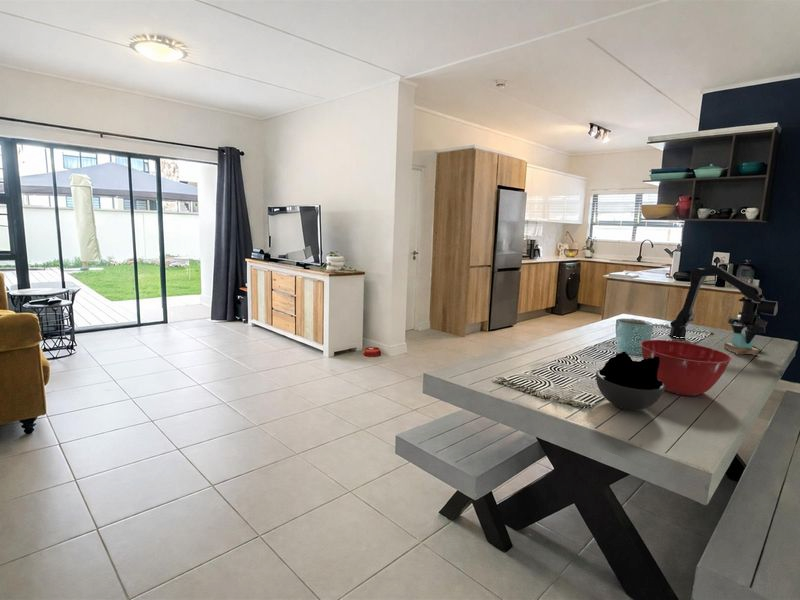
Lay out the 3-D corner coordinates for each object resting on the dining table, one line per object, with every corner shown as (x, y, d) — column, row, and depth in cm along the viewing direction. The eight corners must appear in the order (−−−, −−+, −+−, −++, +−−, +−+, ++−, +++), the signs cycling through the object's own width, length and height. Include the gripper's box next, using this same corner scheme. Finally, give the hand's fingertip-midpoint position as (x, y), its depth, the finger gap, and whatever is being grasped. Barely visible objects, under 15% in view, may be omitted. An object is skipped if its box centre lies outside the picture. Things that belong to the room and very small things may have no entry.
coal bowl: (582, 404, 143) (590, 350, 140) (605, 390, 157) (613, 340, 154) (648, 427, 129) (659, 367, 126) (667, 409, 143) (677, 355, 140)
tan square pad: (736, 354, 216) (737, 348, 216) (723, 348, 226) (725, 342, 225) (757, 355, 215) (759, 349, 215) (744, 349, 225) (745, 344, 225)
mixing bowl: (617, 378, 171) (623, 340, 168) (669, 372, 181) (675, 337, 178) (686, 408, 145) (694, 364, 142) (741, 400, 155) (750, 359, 152)
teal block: (739, 347, 218) (741, 335, 216) (731, 344, 223) (733, 332, 222) (751, 348, 217) (754, 336, 216) (744, 345, 223) (746, 333, 222)
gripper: (780, 316, 207) (773, 348, 210) (753, 308, 225) (747, 337, 228) (755, 314, 208) (748, 346, 211) (730, 307, 226) (724, 336, 229)
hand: (742, 341), depth 220 cm, fingers open, 8 cm apart
